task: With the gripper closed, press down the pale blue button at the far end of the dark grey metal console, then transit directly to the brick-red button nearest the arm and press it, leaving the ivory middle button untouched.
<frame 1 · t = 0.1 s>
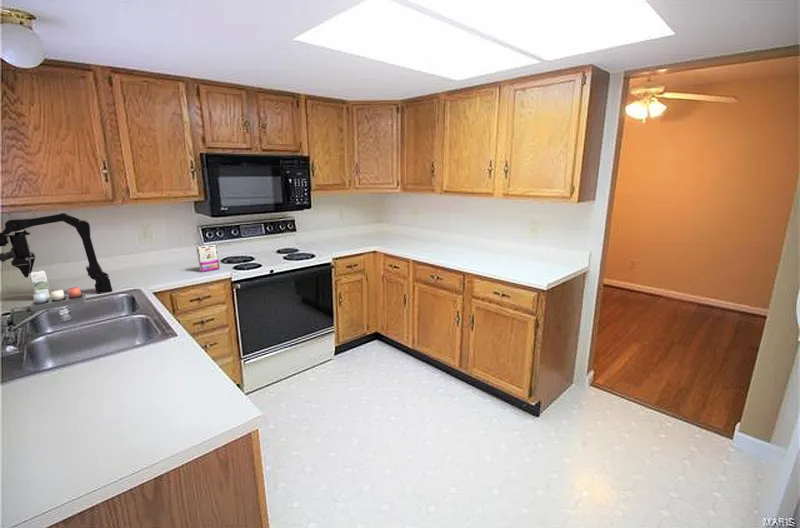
hand: (28, 275, 188), 15 cm above the countertop, fingers open, 9 cm apart
red button: (74, 292, 191), point 5 cm above the countertop, slide at 0.0 cm
syrup box: (43, 298, 198), on the countertop
candy bar box: (209, 270, 249), on the countertop
blue button: (40, 297, 184), point 5 cm above the countertop, slide at 0.0 cm
console: (60, 304, 189), on the countertop
ivory button: (57, 295, 188), point 5 cm above the countertop, slide at 0.0 cm
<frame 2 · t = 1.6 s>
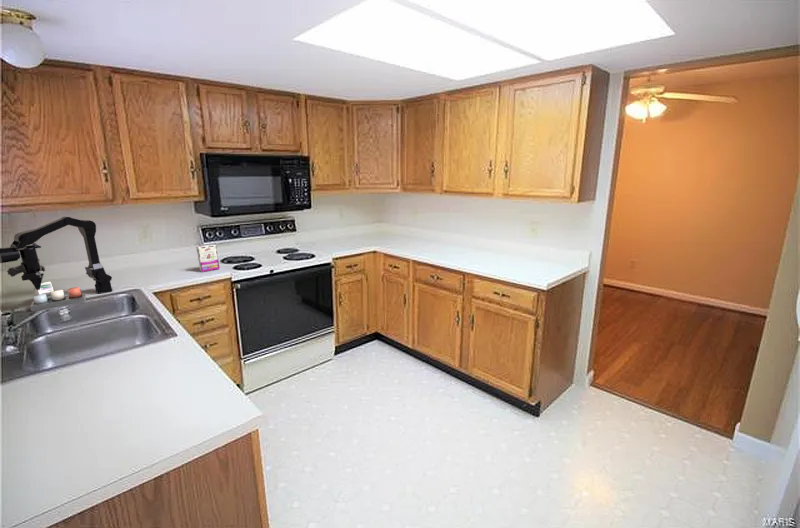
hand: (38, 289, 183), 9 cm above the countertop, fingers closed
syrup box: (42, 294, 197), point 2 cm above the countertop, touching blue button
blue button: (40, 299, 184), point 4 cm above the countertop, slide at 0.9 cm, touching syrup box
everything else where it was.
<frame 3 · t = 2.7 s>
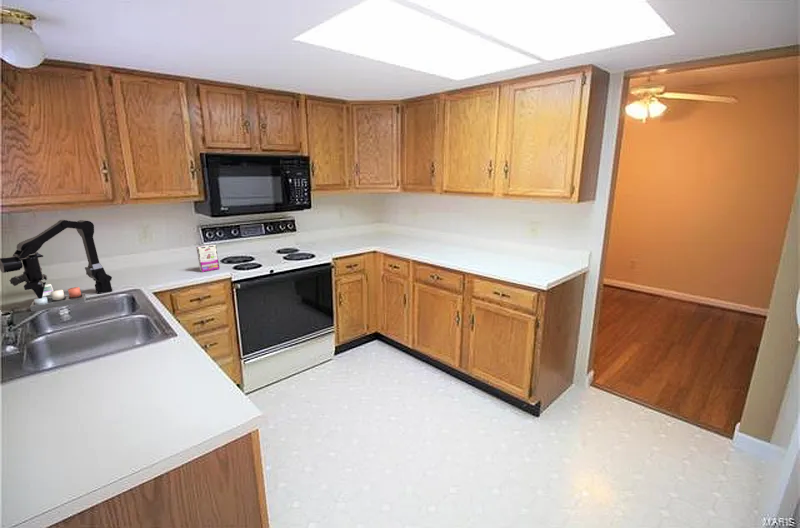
hand: (40, 298, 184), 4 cm above the countertop, fingers closed, pressing on blue button
syrup box: (42, 294, 196), point 2 cm above the countertop, touching blue button, gripper
blue button: (41, 302, 184), point 2 cm above the countertop, slide at 2.3 cm, touching gripper, syrup box
everything else where it was.
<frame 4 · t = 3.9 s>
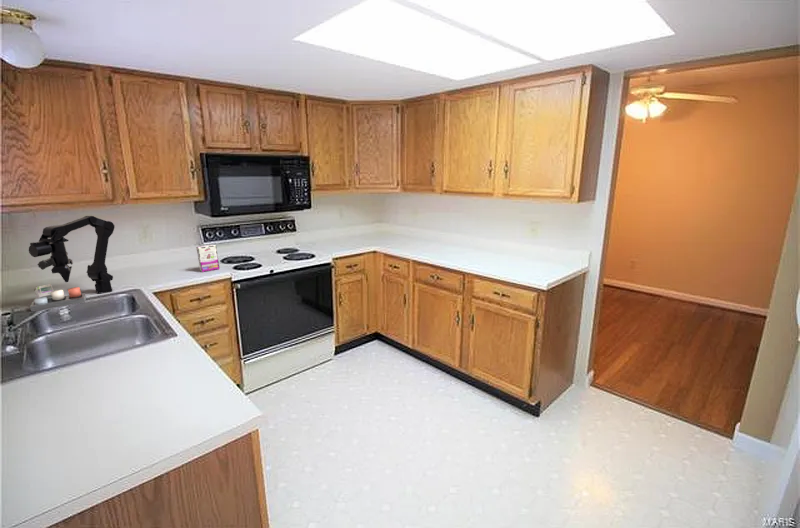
hand: (66, 282, 189), 11 cm above the countertop, fingers closed
syrup box: (42, 294, 196), point 2 cm above the countertop, touching blue button
blue button: (41, 302, 184), point 2 cm above the countertop, slide at 2.4 cm, touching syrup box
everything else where it was.
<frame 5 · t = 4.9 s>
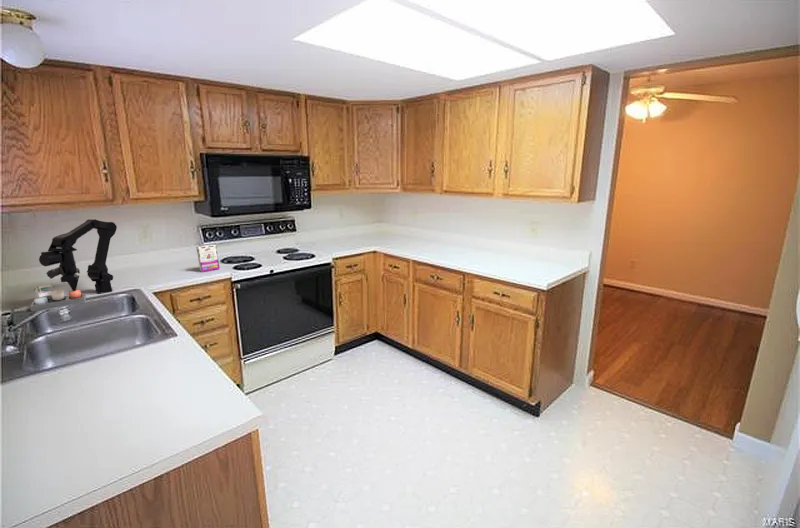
hand: (74, 290, 191), 6 cm above the countertop, fingers closed, pressing on red button
red button: (75, 294, 192), point 4 cm above the countertop, slide at 1.2 cm, touching gripper
everything else where it was.
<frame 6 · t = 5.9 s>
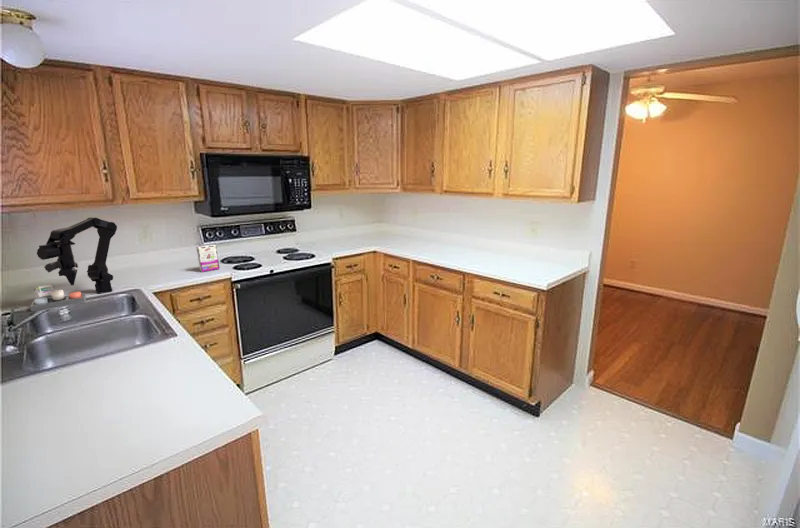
hand: (72, 285, 190), 9 cm above the countertop, fingers closed
red button: (75, 296, 192), point 2 cm above the countertop, slide at 2.3 cm
everything else where it was.
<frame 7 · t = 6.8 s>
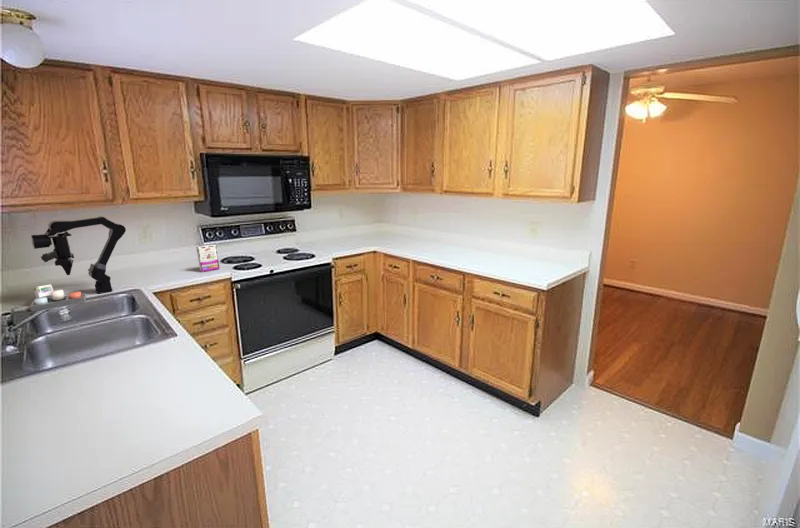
hand: (68, 275, 195), 12 cm above the countertop, fingers closed
nothing on the countertop moved.
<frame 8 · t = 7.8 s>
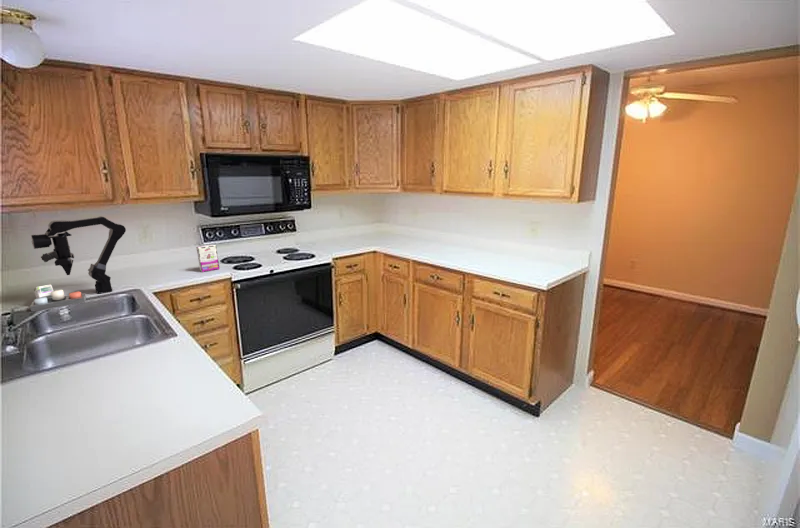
hand: (68, 275, 195), 13 cm above the countertop, fingers closed
nothing on the countertop moved.
at the end: blue button slide at 2.5 cm; red button slide at 2.3 cm; ivory button slide at 0.0 cm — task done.
